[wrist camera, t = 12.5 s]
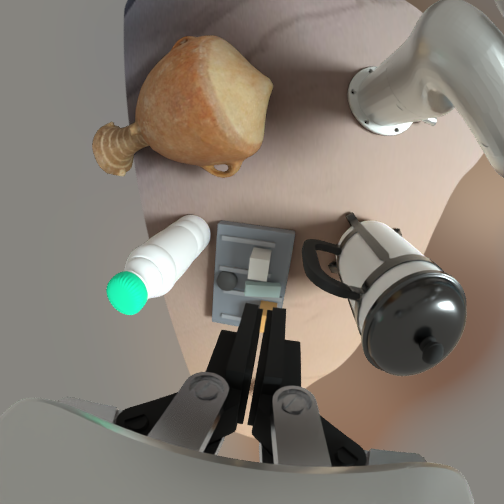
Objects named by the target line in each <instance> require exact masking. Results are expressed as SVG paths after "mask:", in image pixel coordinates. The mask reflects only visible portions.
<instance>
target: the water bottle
mask: <svg viewBox="0 0 504 504" xmlns="http://www.w3.org/2000/svg"><path fill="white" fill-rule="evenodd" d="M209 241H210V229H209V227H208V225H207V223H206V222H205V221H204V220H203V219H202V218H200V217H198V216H195V215H186V216H183V217H181V218H180V219H178V220H177V221H176V222H174V223H172V224H171V225H170V226H168V227H167V228H166V229H164V230H162V231H161V232H159V233H157V234H156V235H154V236H153V237H151V238H150V239H149V240H147V241H146V242H145V243H144V244H143V245H141V246H138V247H137V248H135V249H134V250H133V251H132V252H131V253H130V255H129V256H128V258H127V261H126V265H125V268H124V271H122V272H120V273H118V274H116V275H115V276H114V277H113V278H112V279H111V280H110V281H109V283H108V286H107V289H106V291H107V297H108V299H109V300H110V303H111V304H112V305H113V307H114V308H116V310H118V311H119V312H121V313H123V314H126V315H133V314H136V313H138V312H139V311H140V310H141V309H142V308H143V307H144V305H145V304H146V301H147V300H148V299H149V298H152V297H159V296H162V295H164V294H166V293H167V292H168V291H170V289H171V288H172V287H173V285H174V283H175V282H176V281H177V280H178V279H179V278H180V277H181V276H182V275H183V273H184V272H185V271H186V270H187V269H188V267H189V266H190V265H191V263H192V262H193V260H195V259H196V258H197V257H198V256H199V254H200V253H201V252H202V251H203V250H204V249H205V248H206V246H207V245H208V243H209Z"/></svg>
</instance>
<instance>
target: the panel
mask: <svg viewBox="0 0 504 504" xmlns="http://www.w3.org/2000/svg"><path fill="white" fill-rule="evenodd" d="M294 238H295V231H293V230H287V229H280V228H273V227H266V226H259V225H252V224H245V223H238V222H230V221H223V220H221V221H220V222H219V223H218V229H217V243H216V258H215V274H214V291H213V311H212V322H217V323H222V324H228V325H234V326H239V324H240V321H241V317H242V314H243V310H244V307H245V303H250V304H257V305H259V307H258V308H260V304H261V300H262V301H268V302H275V303H277V308H282V305H283V300H284V294H285V289H286V284H287V278H288V273H289V267H290V262H291V256H292V250H293V244H294ZM254 247H256V248H263V249H269V250H271V257H270V264H269V270H268V276H267V281H266V282H272V283H280V285H281V291H280V296H279V298H272V297H252V296H245V293H244V291H245V282H246V281H254V282H265V281H259V280H252V279H248V271H249V262H250V256H251V254H252V251H253V248H254Z"/></svg>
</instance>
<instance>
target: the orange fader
mask: <svg viewBox="0 0 504 504" xmlns="http://www.w3.org/2000/svg"><path fill="white" fill-rule="evenodd" d="M273 307H276V308H277V303H275V302H268V301H262V300H261V304H260V309H263V314H262V320H261V326H260V332H262V333H264V327H265V321H266V315H267V310H272V309H273Z"/></svg>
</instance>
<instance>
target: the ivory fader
mask: <svg viewBox="0 0 504 504" xmlns="http://www.w3.org/2000/svg"><path fill="white" fill-rule="evenodd" d="M270 257H271V250H269V249H263V248H256V247H254V248H253V251H252V254H251V256H250V262H249V271H248V279H252V280H259V281H265V282H266V281H267V276H268V270H269V264H270Z"/></svg>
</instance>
